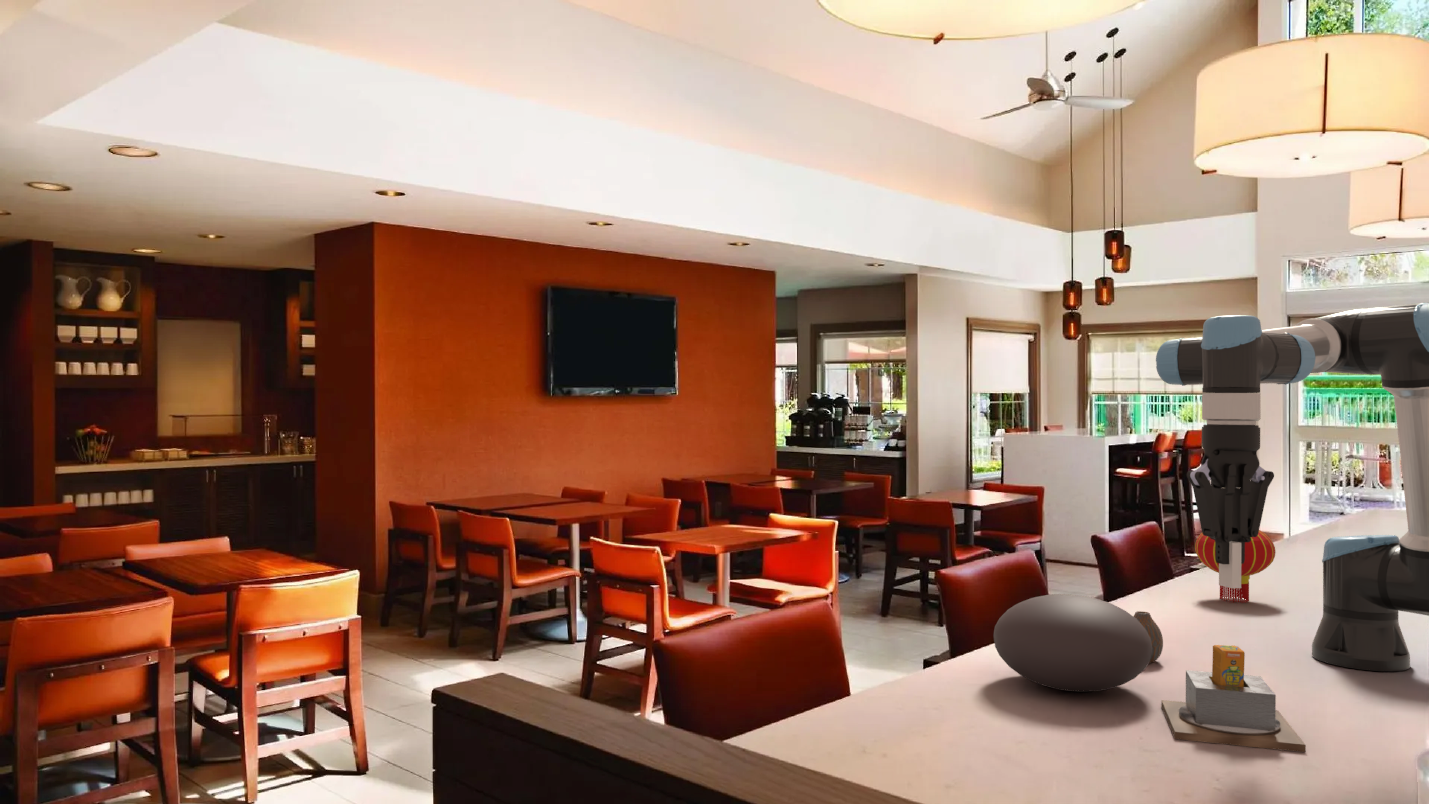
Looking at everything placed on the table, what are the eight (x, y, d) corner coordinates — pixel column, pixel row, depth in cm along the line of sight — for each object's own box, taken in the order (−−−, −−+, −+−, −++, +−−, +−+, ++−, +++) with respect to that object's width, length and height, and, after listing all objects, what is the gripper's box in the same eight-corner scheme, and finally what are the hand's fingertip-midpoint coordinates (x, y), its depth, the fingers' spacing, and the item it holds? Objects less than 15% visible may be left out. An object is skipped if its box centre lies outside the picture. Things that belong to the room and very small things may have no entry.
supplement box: (1220, 720, 142) (1220, 649, 142) (1210, 712, 146) (1210, 643, 146) (1244, 720, 142) (1245, 650, 142) (1234, 713, 145) (1234, 644, 145)
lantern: (1184, 592, 251) (1185, 473, 252) (1258, 595, 249) (1259, 474, 249) (1208, 605, 234) (1209, 478, 235) (1287, 608, 232) (1288, 479, 232)
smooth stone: (1145, 675, 172) (1146, 588, 173) (1159, 716, 149) (1159, 616, 149) (997, 661, 180) (998, 579, 181) (987, 699, 157) (988, 604, 157)
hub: (1269, 712, 148) (1269, 674, 148) (1290, 740, 136) (1290, 698, 136) (1173, 703, 152) (1173, 666, 152) (1185, 729, 140) (1185, 689, 140)
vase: (1167, 666, 178) (1167, 617, 178) (1126, 664, 180) (1126, 615, 180) (1158, 657, 185) (1158, 609, 185) (1118, 654, 187) (1118, 607, 187)
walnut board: (1278, 717, 149) (1278, 710, 149) (1305, 752, 134) (1305, 744, 134) (1161, 706, 154) (1161, 700, 154) (1174, 739, 139) (1174, 731, 139)
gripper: (1250, 422, 149) (1249, 580, 149) (1173, 422, 147) (1172, 583, 147) (1289, 423, 142) (1288, 589, 142) (1209, 423, 139) (1208, 592, 139)
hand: (1229, 586), depth 144 cm, fingers closed
